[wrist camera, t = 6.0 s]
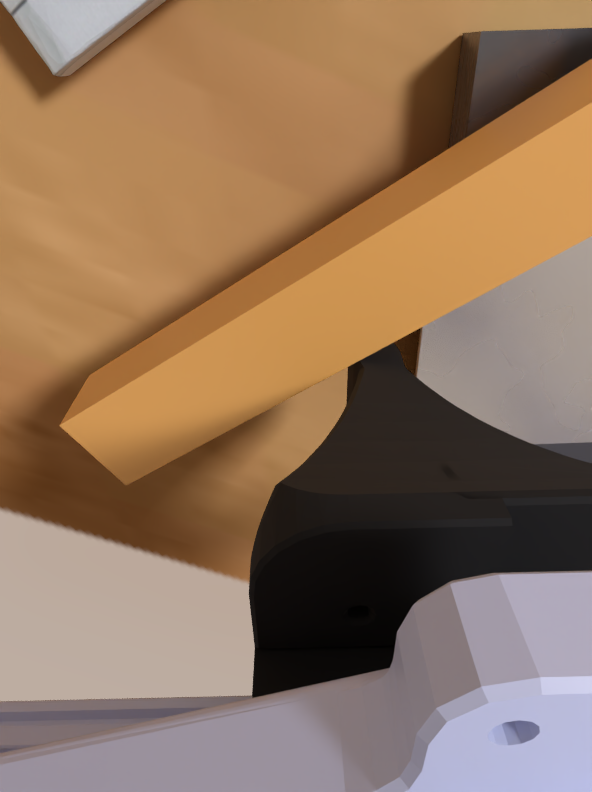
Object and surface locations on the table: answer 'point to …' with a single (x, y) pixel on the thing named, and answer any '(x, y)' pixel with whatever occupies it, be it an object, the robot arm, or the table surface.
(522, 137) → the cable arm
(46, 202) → the table surface
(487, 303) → the psu panel
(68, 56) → the hard drive
